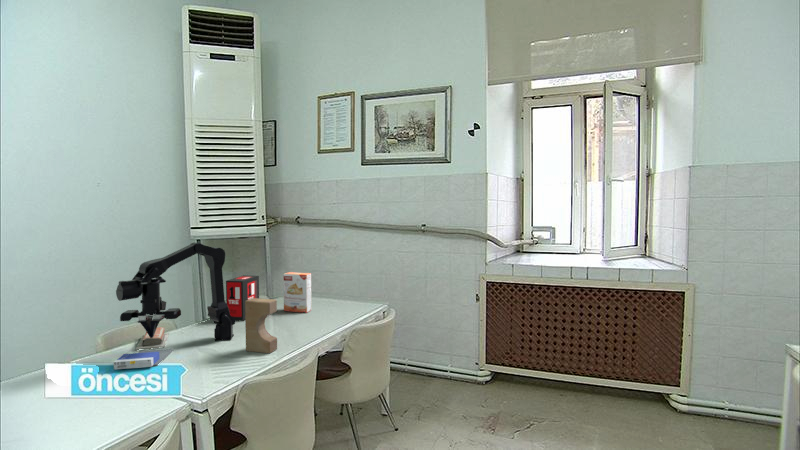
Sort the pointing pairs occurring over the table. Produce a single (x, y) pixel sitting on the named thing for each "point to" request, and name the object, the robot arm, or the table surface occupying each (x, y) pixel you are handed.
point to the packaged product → (153, 340)
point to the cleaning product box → (241, 294)
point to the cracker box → (297, 292)
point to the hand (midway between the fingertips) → (151, 337)
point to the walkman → (136, 360)
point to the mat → (160, 354)
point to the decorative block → (259, 325)
